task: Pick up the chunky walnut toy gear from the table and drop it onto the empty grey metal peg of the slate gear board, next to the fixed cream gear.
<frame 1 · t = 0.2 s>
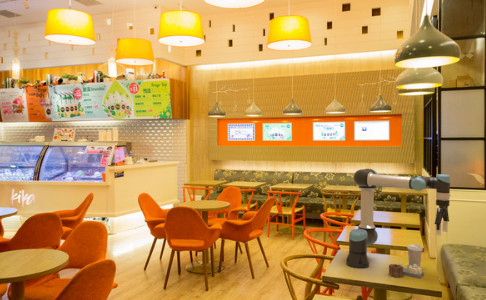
hand: (441, 233, 245), 28 cm above the table, fingers open, 13 cm apart
coffee cup: (414, 268, 263), on the table
walnut gear: (395, 275, 248), on the table
gear board: (407, 273, 252), on the table
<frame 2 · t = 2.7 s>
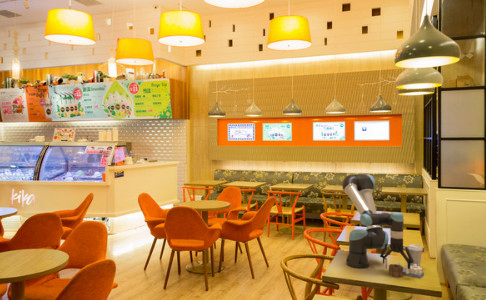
hand: (396, 271, 247), 3 cm above the table, fingers open, 13 cm apart
nothing on the table moved.
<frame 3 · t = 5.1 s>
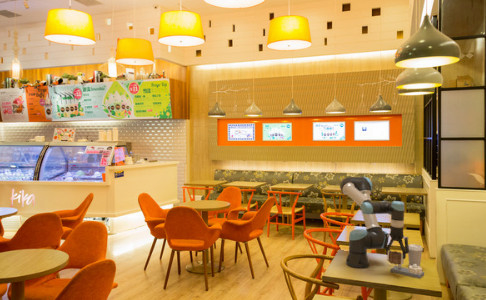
hand: (395, 261, 248), 8 cm above the table, fingers closed on walnut gear, 8 cm apart
walnut gear: (395, 262, 248), point 8 cm above the table, touching gripper
everything else where it was.
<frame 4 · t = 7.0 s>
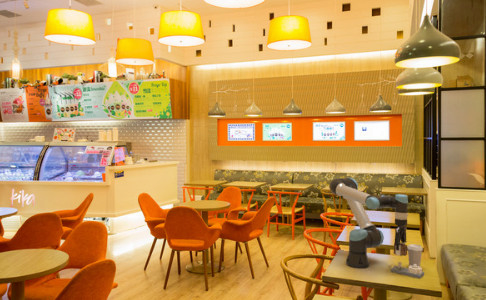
hand: (400, 253, 255), 12 cm above the table, fingers closed on walnut gear, 8 cm apart
walnut gear: (400, 254, 255), point 12 cm above the table, touching gripper
everything else where it was.
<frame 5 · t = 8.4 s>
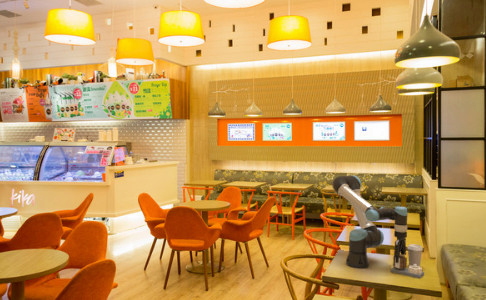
hand: (399, 265, 255), 4 cm above the table, fingers closed on walnut gear, 8 cm apart
walnut gear: (399, 266, 255), point 3 cm above the table, touching gripper
everything else where it was.
when the fingers open (4 cm above the table, at t = 9.2 s): walnut gear drops 1 cm, resting on gear board.
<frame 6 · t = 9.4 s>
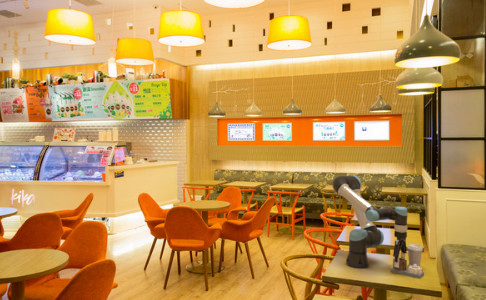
hand: (399, 265, 255), 4 cm above the table, fingers open, 10 cm apart
walnut gear: (399, 268, 255), point 2 cm above the table, touching gear board
everything else where it was.
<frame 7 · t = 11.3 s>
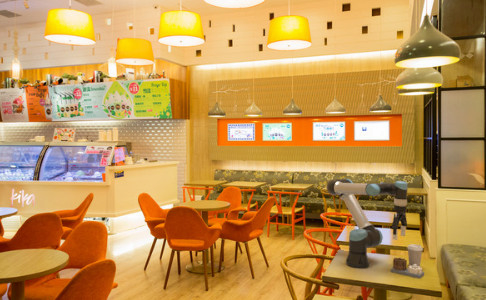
hand: (398, 237, 257), 22 cm above the table, fingers open, 13 cm apart
nothing on the table moved.
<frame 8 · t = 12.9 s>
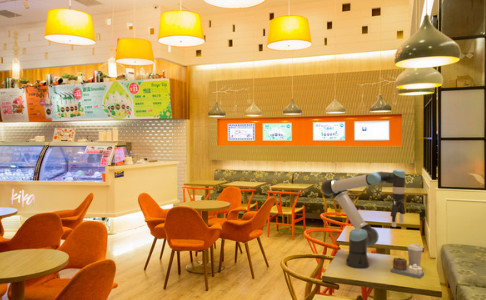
hand: (397, 225, 262), 29 cm above the table, fingers open, 13 cm apart
nothing on the table moved.
at the end: walnut gear 0.2 cm from the target spot on the gear board, point 2.0 cm above the gear board's base; walnut gear tilted 0°; the gripper is holding nothing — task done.
